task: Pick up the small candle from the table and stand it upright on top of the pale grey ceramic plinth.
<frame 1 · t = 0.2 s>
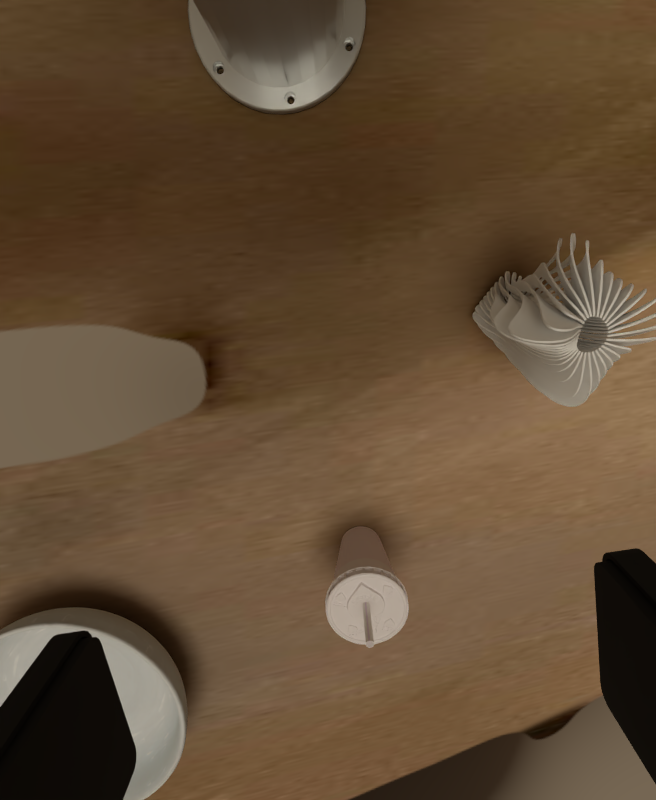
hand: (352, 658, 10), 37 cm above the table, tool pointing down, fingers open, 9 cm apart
smoothie: (360, 543, 50), on the table
shell sculpture: (506, 303, 45), on the table
serving bowl: (98, 668, 54), on the table
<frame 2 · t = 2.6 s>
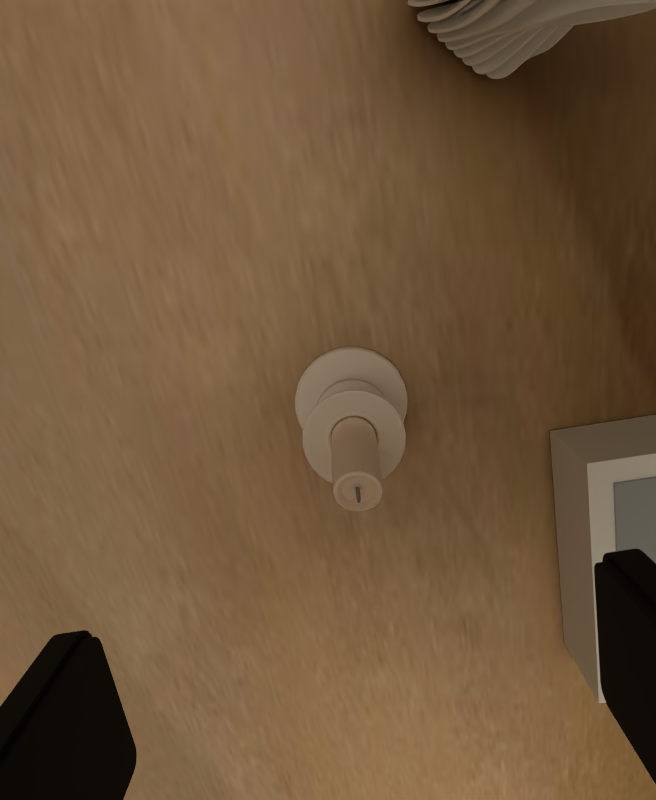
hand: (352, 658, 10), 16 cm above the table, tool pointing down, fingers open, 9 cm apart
candle: (350, 399, 25), on the table
shell sculpture: (491, 0, 21), on the table
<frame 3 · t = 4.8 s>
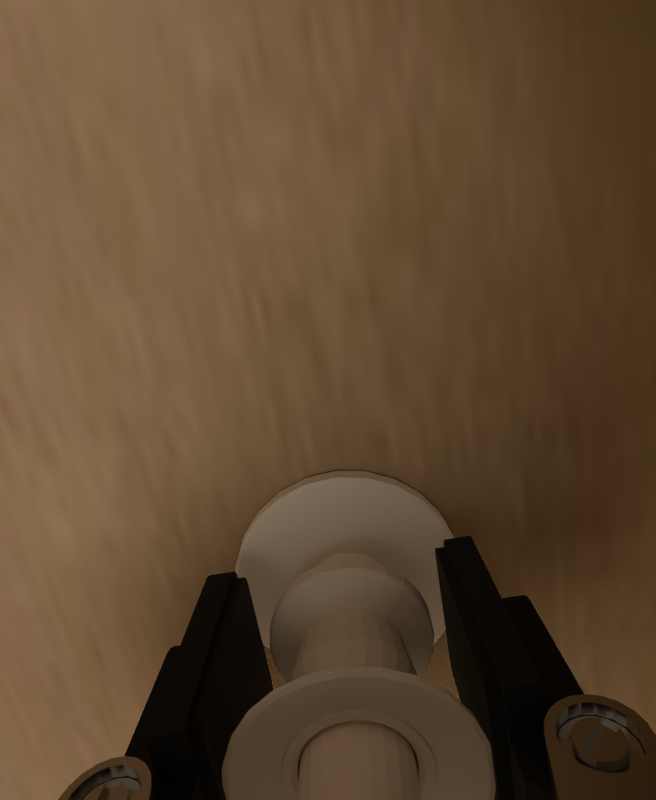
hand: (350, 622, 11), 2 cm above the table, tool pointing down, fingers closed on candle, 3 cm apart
candle: (347, 567, 13), on the table, touching gripper
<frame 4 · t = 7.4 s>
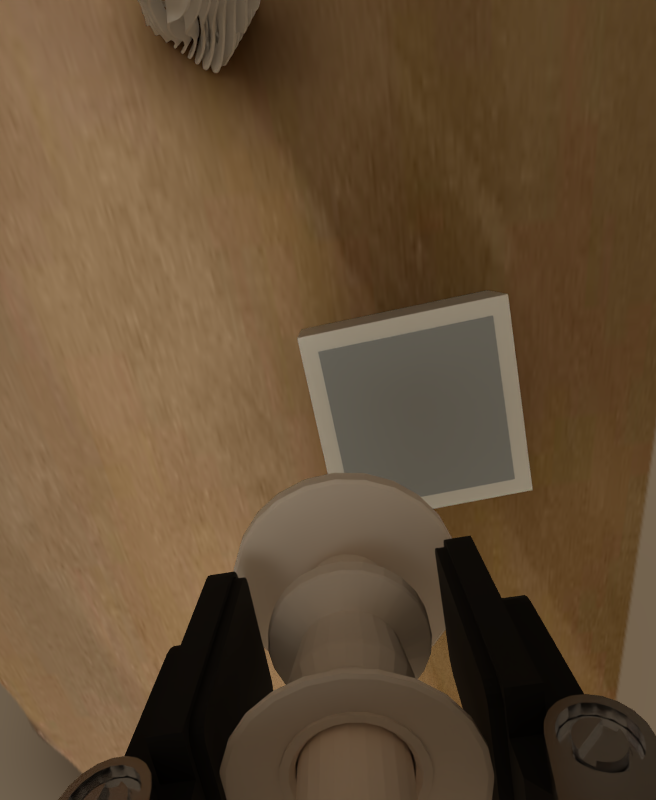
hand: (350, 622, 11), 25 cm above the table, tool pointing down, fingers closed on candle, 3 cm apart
candle: (346, 568, 13), point 23 cm above the table, touching gripper
shell sculpture: (214, 20, 30), on the table
plinth: (409, 399, 36), on the table
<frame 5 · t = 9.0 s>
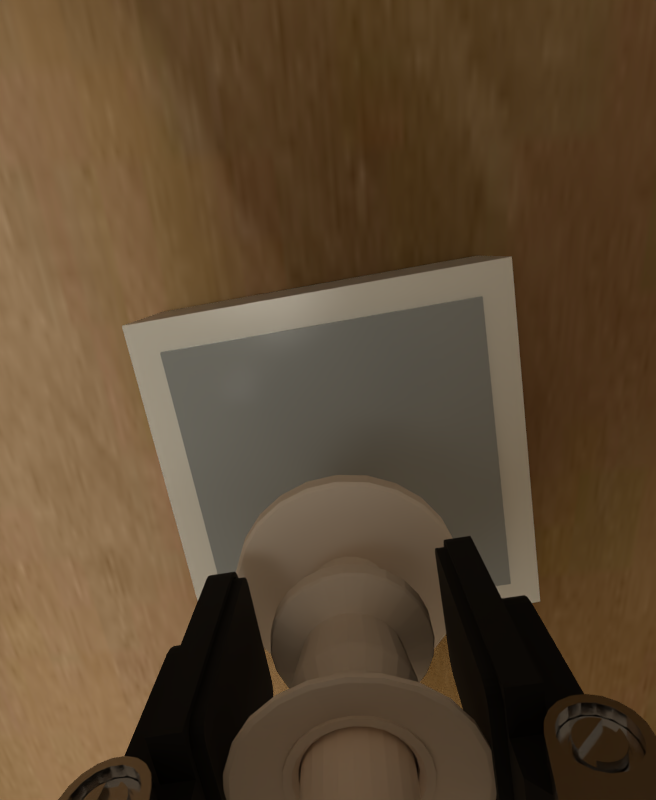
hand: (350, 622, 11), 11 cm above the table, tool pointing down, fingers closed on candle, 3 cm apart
candle: (348, 570, 13), point 9 cm above the table, touching gripper
plinth: (343, 433, 22), on the table
when the fingers open (7 cm above the table, at t = 10.1 s): candle stays where it is, resting on plinth.
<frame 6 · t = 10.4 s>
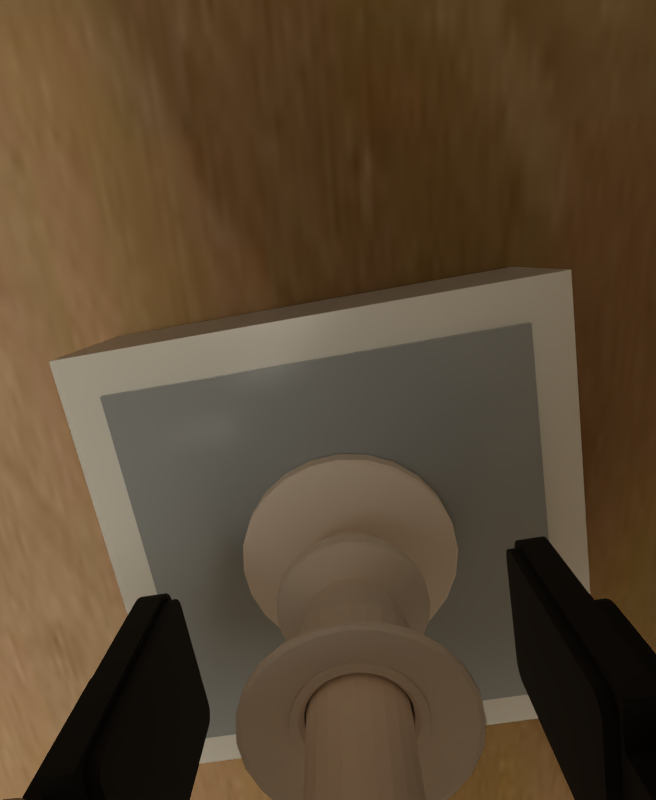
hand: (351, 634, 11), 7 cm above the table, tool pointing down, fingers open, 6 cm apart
candle: (349, 546, 14), point 4 cm above the table, touching plinth
plinth: (343, 486, 18), on the table
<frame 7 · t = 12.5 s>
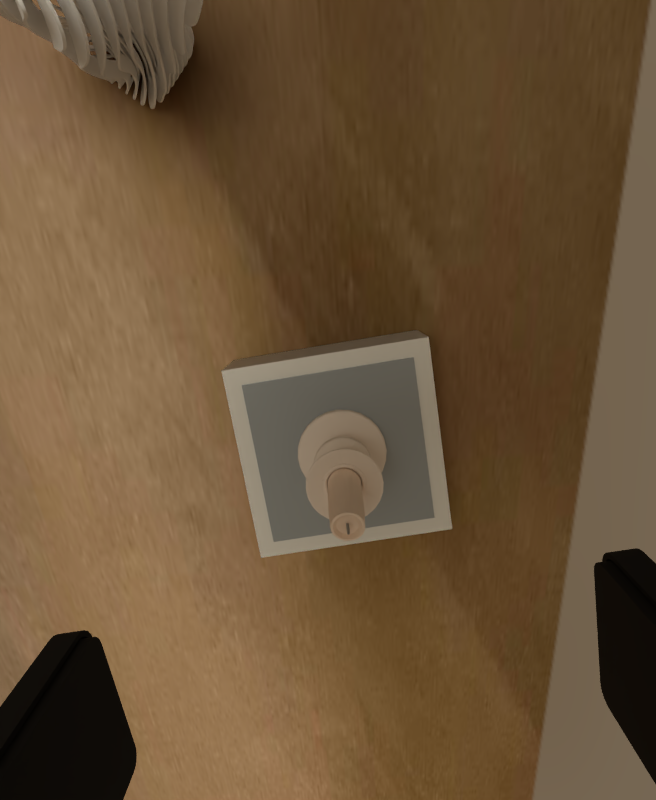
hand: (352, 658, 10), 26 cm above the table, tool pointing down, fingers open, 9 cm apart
candle: (341, 450, 32), point 4 cm above the table, touching plinth
shell sculpture: (154, 57, 31), on the table
plinth: (339, 433, 36), on the table
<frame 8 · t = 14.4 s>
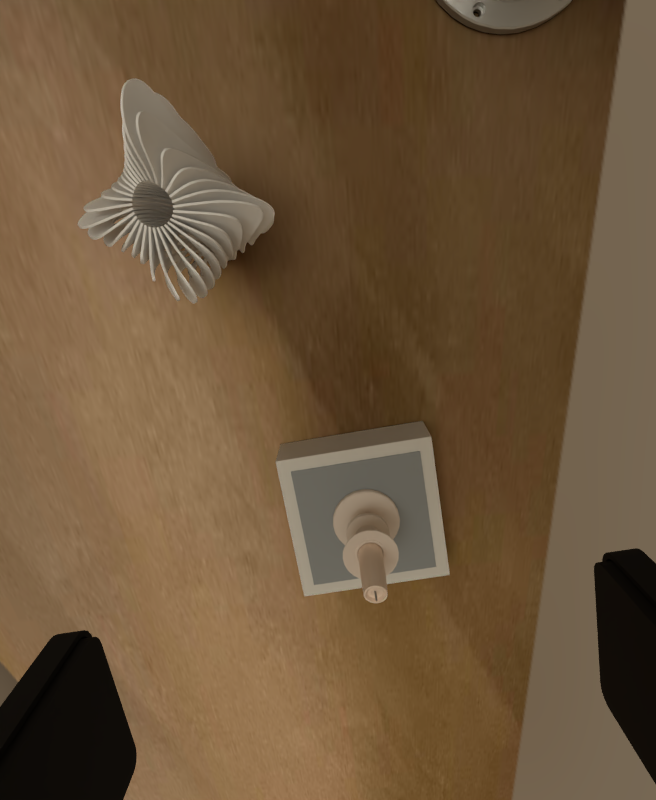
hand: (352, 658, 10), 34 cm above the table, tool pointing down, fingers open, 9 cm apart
candle: (365, 518, 43), point 4 cm above the table, touching plinth
shell sculpture: (221, 224, 41), on the table
plinth: (362, 497, 46), on the table
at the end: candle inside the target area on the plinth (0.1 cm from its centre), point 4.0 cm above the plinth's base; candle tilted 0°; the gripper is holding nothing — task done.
